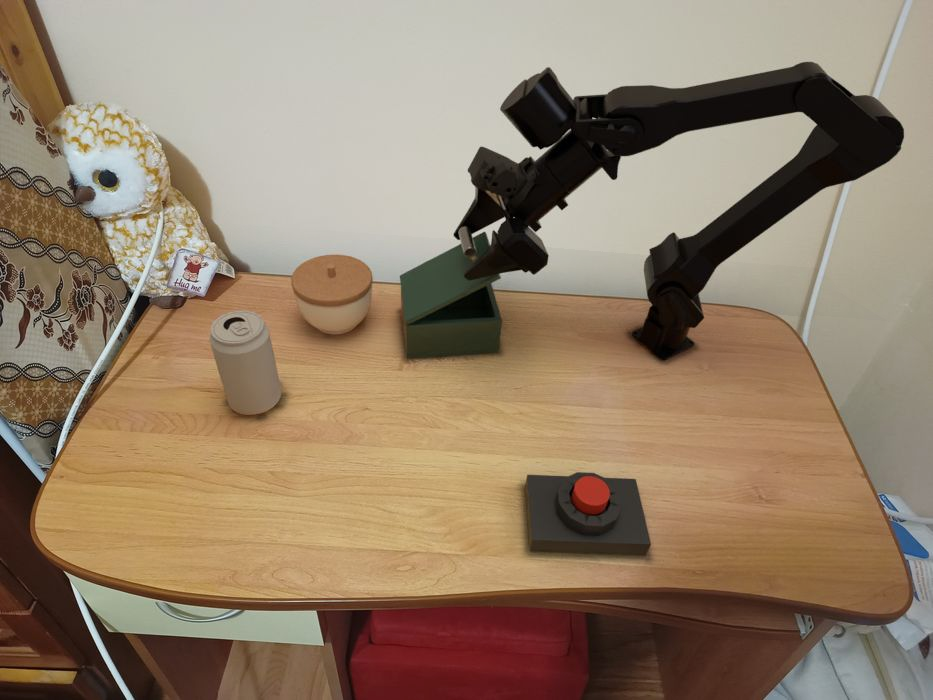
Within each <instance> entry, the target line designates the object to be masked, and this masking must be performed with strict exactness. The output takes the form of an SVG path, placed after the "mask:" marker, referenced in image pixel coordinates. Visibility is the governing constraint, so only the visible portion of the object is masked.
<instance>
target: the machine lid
mask: <svg viewBox="0 0 933 700" xmlns="http://www.w3.org/2000/svg"><path fill="white" fill-rule="evenodd" d="M458 233H459V237H460V240H459V241H460V243H459V244H457V245H456V246H454V247H452V248H449V249H448V250H446V251H444V252H442V253H440V254H438V255H436V256H435V257H433V258H431V259H429V260H427V261H425V262H423V263H421V264H419V265H417V266H415V267H413V268H412V269H409V270H408V271H405V272H404V273H402V274H400V275H399V282H400V293H401V292H402V300H403V308H404V317H405V322H406V323H407V325H409V324H411V323H413V322H415V321H417V320H419V319H421V318H423V317H425V316H427V315H429V314H431V313H433V312H435V311H437V310H439V309H441V308H443V307H445V306H447V305H449V304H451V303H453V302H455V301H457V300H459V299H461V298H463V297H465V296H467V295H469V294H471V293H473V292H475V291H477V290H479V289H481V288H483V287H485V286H487V285H489V284H494V283H495V282H497V281H499V280H501V273H500V274H496V275H491V276H487V277H483V278H479V279H475V280H470V281H469V280H467V279H466V278H465V277H464V273H465V272H466V271H467V269H468V268H469V267H470V266H471V265H472V264H473V263H474V262H475V261H476V260H477V259H478V258H479V257H480V256H481V255H482V254H483V253H484V252H485V251H486V250H487V249H488V248H489V247H490V245H491V242H490V239H489V237H488V234H487V232H486V231H483V232H481V233H479V234H476V235H475V236H473V234H472V233H471V230H470V228H468V227H461V228H460V229H459V232H458Z"/></svg>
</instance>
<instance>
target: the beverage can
mask: <svg viewBox="0 0 933 700" xmlns="http://www.w3.org/2000/svg"><path fill="white" fill-rule="evenodd" d="M209 343H210V347H211V351H212V354H213V358H214V361H215V365H216V367H217V371H218V375H219V377H220V382H221V384H222V388H223V392H224V395H225V397H226V402H227V404H228V406H229V408H230V409H231V410H232V411H234V412H236V413H238V414H240V415H245V416H253V415H261V414H263V413H266V412H268V411H270V410H272V408H274V407H275V406H276V405H277V404H278V402H279V401H280V400H281V397H282V387H281V382H280V377H279V372H278V368H277V362H276V357H275V354H274V348H273V343H272V338H271V332H270V328H269V326H268V325H267V323H266V322H265V321H264V318H263V317H262V316H261V315H260V314H258V313H257V312H254V311H251V310H242V309H241V310H233V311H229V312H226V313H224V314H222V315H219V316H218V317H217V318H216V319H215V320H214V321H213V322H212V324H211V326H210V334H209Z"/></svg>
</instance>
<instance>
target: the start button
mask: <svg viewBox="0 0 933 700" xmlns="http://www.w3.org/2000/svg"><path fill="white" fill-rule="evenodd" d="M609 497H610V491H609V488H608V486H607V485H606V483H605V482H603V481H602V480H601V479H599V478H597V477H593V476H585V477H582V478H580V479H579V480H578V481H577V482H576V484H575V486H574V490H573V493H572V502H573V504H574V506H575V507H576V508H577V509H578V510H579V511H580V512H582V513H584V514H587V515H597V514H600V513H601V512H603V511H604V510H605V508H606V505H607V503H608V500H609Z"/></svg>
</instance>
